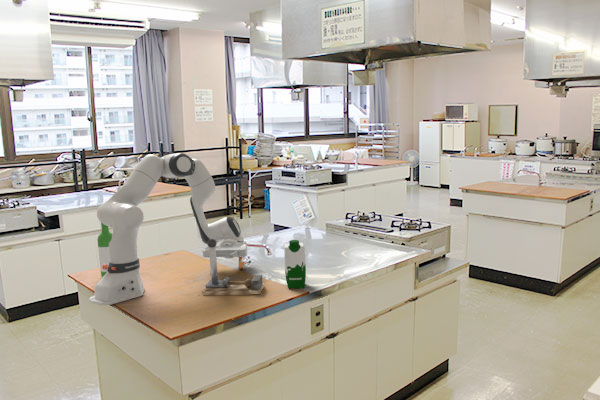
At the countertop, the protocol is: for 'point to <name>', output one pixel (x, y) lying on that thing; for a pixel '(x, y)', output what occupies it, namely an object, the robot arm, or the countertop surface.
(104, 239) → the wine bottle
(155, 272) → the countertop surface
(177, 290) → the countertop surface
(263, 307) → the countertop surface
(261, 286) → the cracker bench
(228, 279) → the ball-top joystick lever
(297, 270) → the milk carton
